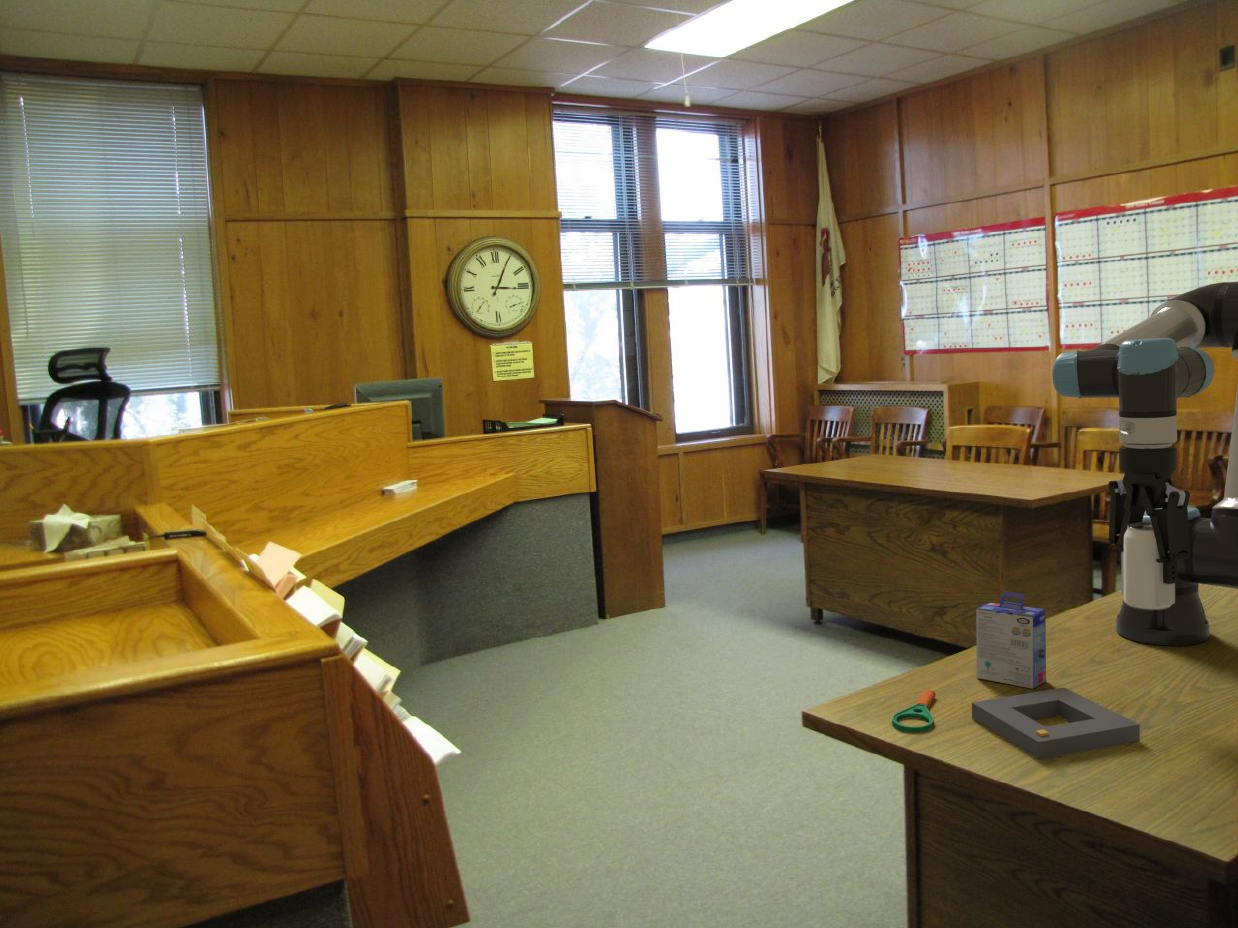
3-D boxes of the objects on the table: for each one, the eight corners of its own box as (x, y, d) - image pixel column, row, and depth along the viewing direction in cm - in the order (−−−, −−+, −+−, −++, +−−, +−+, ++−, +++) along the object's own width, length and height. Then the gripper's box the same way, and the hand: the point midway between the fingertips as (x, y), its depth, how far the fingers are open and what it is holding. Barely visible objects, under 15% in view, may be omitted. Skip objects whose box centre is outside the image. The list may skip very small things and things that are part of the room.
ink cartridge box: (1048, 680, 167) (1047, 594, 165) (1035, 690, 163) (1033, 602, 161) (989, 669, 174) (988, 587, 172) (975, 679, 170) (973, 594, 168)
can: (1168, 599, 153) (1168, 521, 152) (1176, 611, 147) (1177, 530, 146) (1121, 598, 155) (1120, 521, 154) (1127, 610, 149) (1126, 530, 148)
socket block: (1064, 702, 157) (1064, 684, 157) (1139, 741, 142) (1139, 721, 141) (972, 718, 153) (971, 699, 153) (1038, 759, 138) (1038, 739, 138)
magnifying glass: (928, 737, 149) (928, 726, 148) (887, 731, 152) (886, 721, 151) (949, 701, 162) (949, 691, 162) (910, 697, 165) (910, 687, 164)
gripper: (1080, 441, 157) (1082, 587, 160) (1175, 453, 138) (1175, 618, 141) (1122, 437, 158) (1123, 581, 161) (1221, 448, 140) (1220, 611, 143)
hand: (1147, 598), depth 151 cm, fingers closed on can, 6 cm apart
